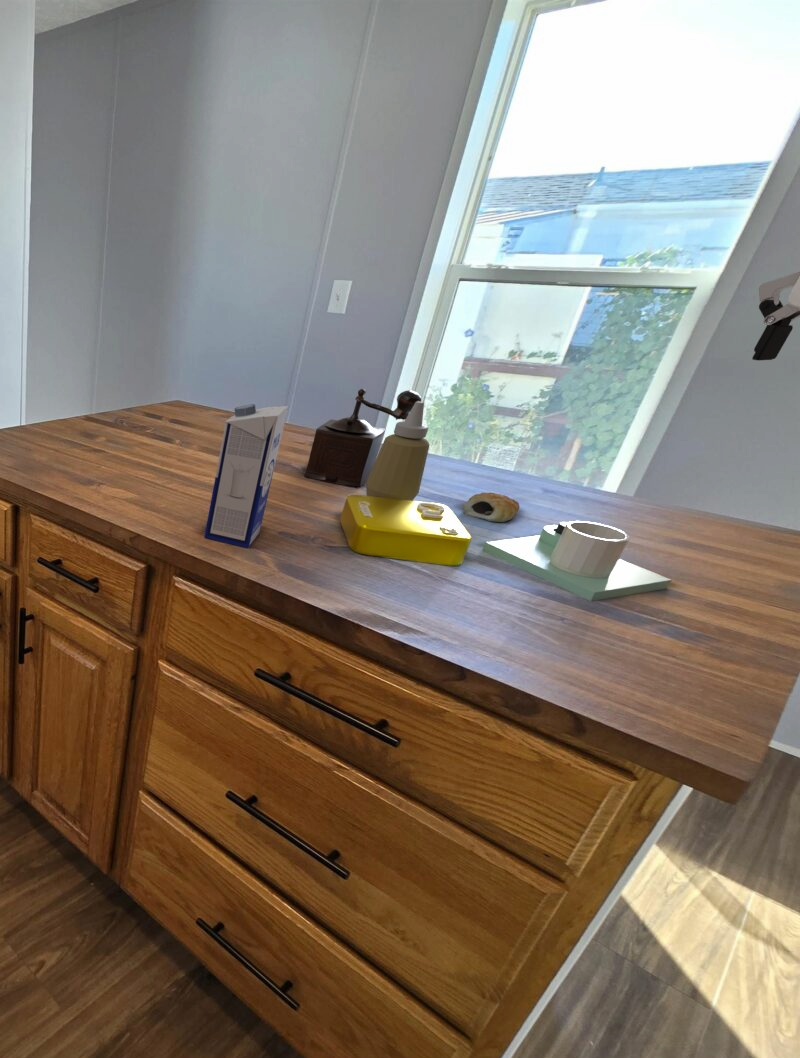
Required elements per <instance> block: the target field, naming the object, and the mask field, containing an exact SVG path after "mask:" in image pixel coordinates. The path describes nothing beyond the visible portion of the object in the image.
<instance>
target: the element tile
mask: <svg viewBox="0 0 800 1058" xmlns="http://www.w3.org/2000/svg"><path fill="white" fill-rule="evenodd" d="M340 524H341V527H342V529H343V533H344V535H345V538H346V541H347V544H348V547H349V549H351V550H352V551H353V552H354V553H357V554H359V555H364V556H370V557H377V558H378V557H379V558H387V559H394V560H401V561H409V562H416V563H425V564H431V565H440V566H447V567H457V566H460V565H462V564H463V562H464V559H465V557H466V554H467V552H468V550H469V547H470V545H471V543H472V540H473V537H472V536H471V534H470V533H469V531H468V530H467V529H466V528H465V526H464V525H463V524H462V522H461V521H460V520H459V517H457V516H456V514H455V513H454V511H453V510H452V509H451V508H450V507H449V506H447V505H445V504H442V503H435V502H426V501H418V500H413V501H409V500H400V499H391V498H382V497H373V496H367V495H361V494H350V495H348V496H347V497H346V498H345V501H344V505H343V508H342V512H341V516H340Z"/></svg>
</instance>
